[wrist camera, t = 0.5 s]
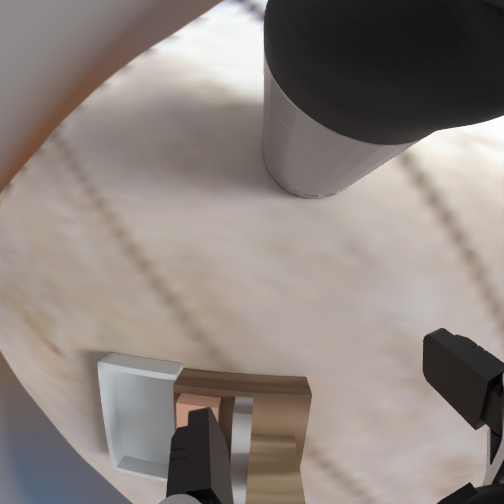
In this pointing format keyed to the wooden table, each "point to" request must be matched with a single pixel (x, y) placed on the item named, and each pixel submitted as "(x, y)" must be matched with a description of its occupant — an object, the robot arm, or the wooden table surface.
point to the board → (264, 401)
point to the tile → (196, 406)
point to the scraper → (262, 463)
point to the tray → (138, 412)
